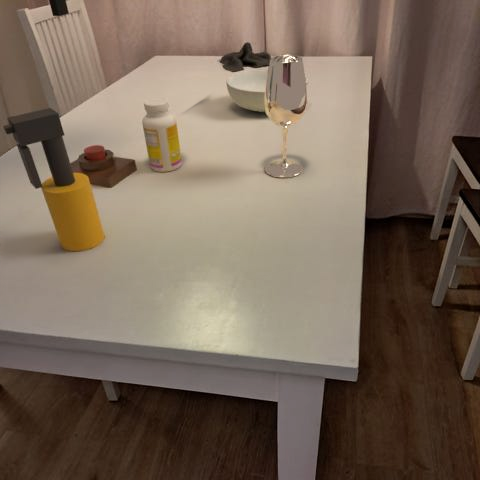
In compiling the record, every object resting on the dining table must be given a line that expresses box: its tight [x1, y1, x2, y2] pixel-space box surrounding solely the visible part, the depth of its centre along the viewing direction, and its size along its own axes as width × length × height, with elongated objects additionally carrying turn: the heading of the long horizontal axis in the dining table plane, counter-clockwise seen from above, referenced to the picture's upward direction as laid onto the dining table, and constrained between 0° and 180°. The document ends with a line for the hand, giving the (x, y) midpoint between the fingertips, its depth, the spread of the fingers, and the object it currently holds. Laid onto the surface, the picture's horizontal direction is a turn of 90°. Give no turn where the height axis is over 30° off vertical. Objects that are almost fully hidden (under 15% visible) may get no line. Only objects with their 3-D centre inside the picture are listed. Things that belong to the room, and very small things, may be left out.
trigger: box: [16, 143, 43, 190], centre depth 66 cm, size 1×3×6 cm, turn 36°
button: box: [83, 144, 106, 160], centre depth 93 cm, size 4×4×2 cm
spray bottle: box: [2, 107, 105, 252], centre depth 69 cm, size 9×7×20 cm
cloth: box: [219, 41, 272, 73], centre depth 158 cm, size 22×19×6 cm
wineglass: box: [264, 54, 308, 179], centre depth 87 cm, size 8×8×20 cm
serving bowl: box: [225, 68, 309, 113], centre depth 121 cm, size 21×21×7 cm
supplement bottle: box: [141, 97, 183, 173], centre depth 93 cm, size 7×7×13 cm
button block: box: [70, 148, 138, 189], centre depth 94 cm, size 12×9×4 cm
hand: (61, 14), depth 87 cm, fingers closed
